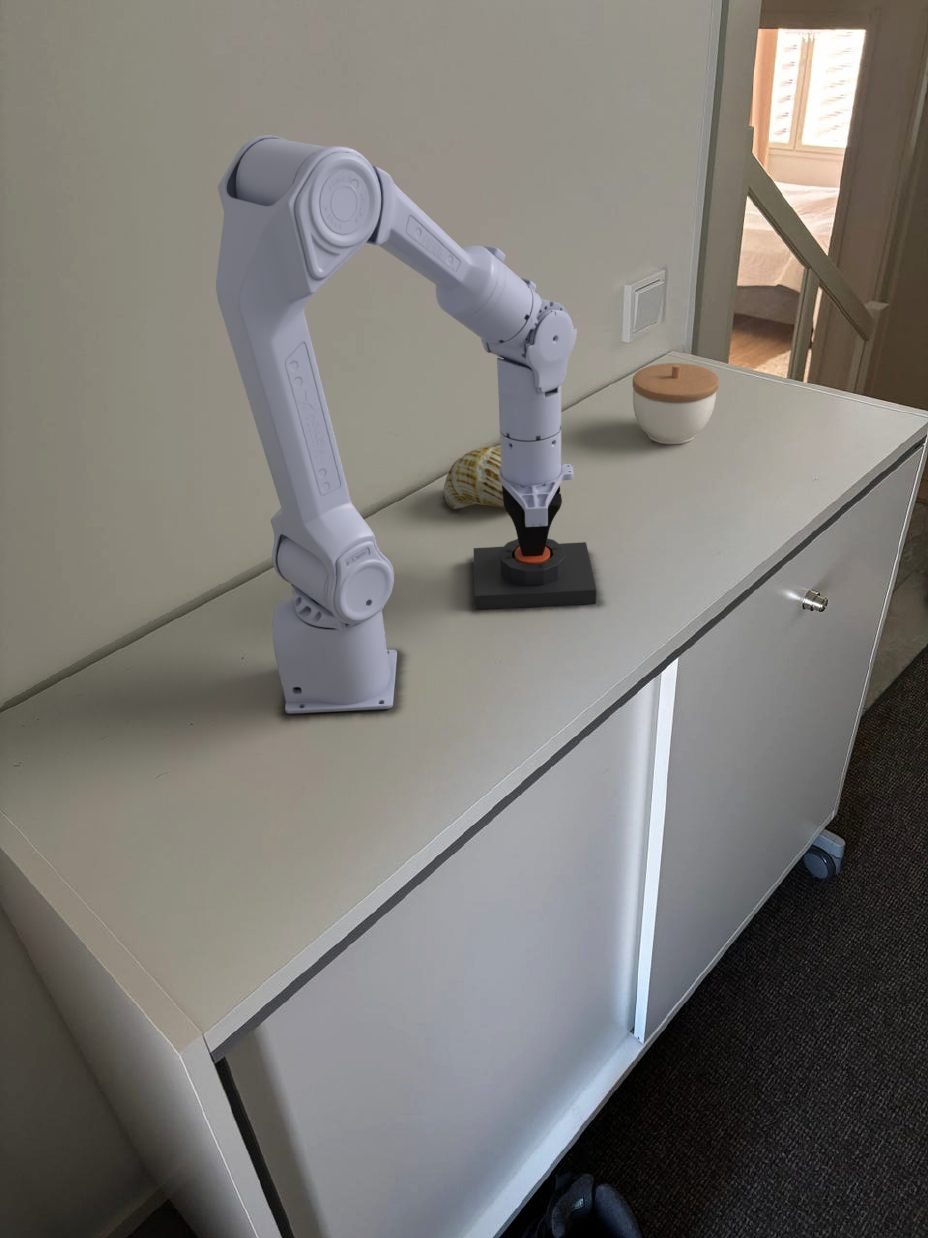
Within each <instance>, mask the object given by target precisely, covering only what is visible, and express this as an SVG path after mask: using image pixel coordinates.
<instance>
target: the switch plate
mask: <svg viewBox="0 0 928 1238" xmlns="http://www.w3.org/2000/svg"><path fill="white" fill-rule="evenodd" d="M587 545H588V544H587V542H583V541H582V542H581V541H580V542H565V543H564V542H563V543H559V542H558V541H556V540H555V539H551V538H547V543H546V547H547V548H548V549H549V551H550V559H549V560H548V561H546V562H543V563H541V564H531V565H528V564H524V563H520V562H517V561H516V560H515V551H516V549H517V548H518V547H520V546H519V541H518V538H517V539H513V540H510V541H508V542H507V543H506V544H505V545H504V546H490V547H487V546H486V547H473V576H474V577H473V579H474V581H473V582H474V602H475V605H474V606H475V610H478V611H479V610H496V609H513V608H534V607H536V608H537V607H554V606H573V605H592V604H594V605H595V604H597V586H596V582H595V577H594V572H593V569H592V564H591V559H590V555H589V550H588V546H587Z"/></svg>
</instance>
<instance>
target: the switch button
mask: <svg viewBox="0 0 928 1238" xmlns="http://www.w3.org/2000/svg"><path fill="white" fill-rule="evenodd" d="M549 559H550V551H549V549H548V548H547V547H545V550H544V553H543V555H542V556H523V555H522V553H521V550H520V547H518V548H517V549H516V551H515V560H516V561H517V562H520V563H524V564H528V565H531V564H541V563H543V562H546V561H548V560H549Z"/></svg>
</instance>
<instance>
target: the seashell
mask: <svg viewBox="0 0 928 1238" xmlns="http://www.w3.org/2000/svg"><path fill="white" fill-rule="evenodd" d="M500 469H501V451H500V444H499V445H494V446H486V447H481V448H476V449H473V450H470V451H469V452H467V453H465V454H464V455H462V456H461V457H459V458H458V459H457V460H455V461H454V462H453V463H452V466H451V467H450V469H449V470H448V473H447V475H446V478H445V480H444V481H445V482H444V484H443V494H444V497H445V498H444V499H445V501H446V504H447V506H448V507H449V508H451V509H453V510H457V509H462V508H465V507H469V506H473V505H476V504H478V505H483V506H484V505H485V506H490V507H497V508H504V509H505V507H504V504H503V493H502V484H501V482H500V479H499V471H500Z"/></svg>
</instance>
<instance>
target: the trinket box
mask: <svg viewBox="0 0 928 1238" xmlns="http://www.w3.org/2000/svg"><path fill="white" fill-rule="evenodd" d="M719 385H720V379H719V377H718V375H717V374H716V373H715V372H714V371H713V370H710V369H709V368H706V367H703V366H701V365H696V364H690V363H683V362H681V363H680V362H677V363H676V362H668V363H660V364H653V365H650V366H646V367H644V368H642V369H640V370H638V371H636V372H635V374H634V375H633V377H632V405H633V412H634V417H635V419H636V421H637V423H638V425H639V427H640V428H641V429H642V430H643V431H644V432H645V434H647V437H648V438H649V439H650V440H652V441H654V442H656V443H659V444H664V445H681V444H685V443H689V442H690V441H692V440H694V438H695V436H696V435H698V434H699V433H700V432H701V431H703V430H704V428H705V427H706V426H707V425H708V423H709V421H710V419H711V418H712V415H713V412H714V410H715V405H716V400H717V392H718V389H719Z"/></svg>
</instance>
